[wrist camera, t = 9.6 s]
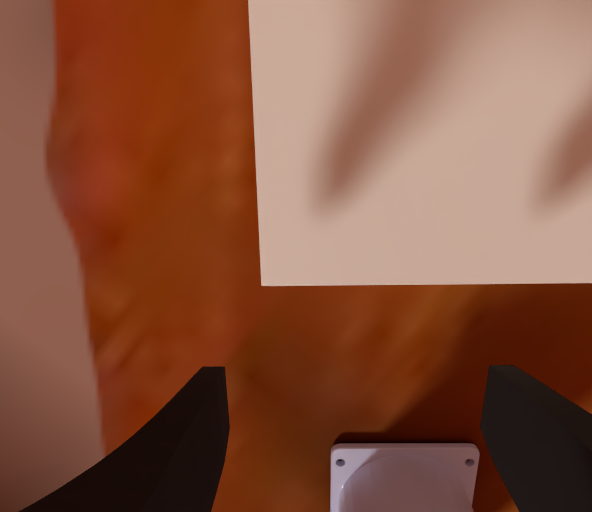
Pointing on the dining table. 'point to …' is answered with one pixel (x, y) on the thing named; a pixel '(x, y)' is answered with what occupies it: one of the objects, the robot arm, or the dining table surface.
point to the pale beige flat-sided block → (423, 141)
